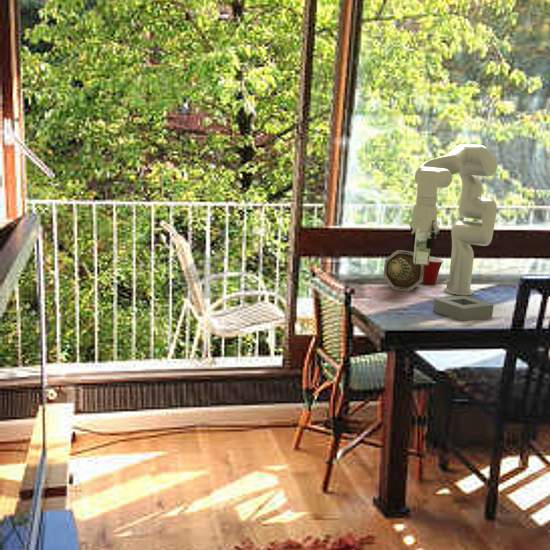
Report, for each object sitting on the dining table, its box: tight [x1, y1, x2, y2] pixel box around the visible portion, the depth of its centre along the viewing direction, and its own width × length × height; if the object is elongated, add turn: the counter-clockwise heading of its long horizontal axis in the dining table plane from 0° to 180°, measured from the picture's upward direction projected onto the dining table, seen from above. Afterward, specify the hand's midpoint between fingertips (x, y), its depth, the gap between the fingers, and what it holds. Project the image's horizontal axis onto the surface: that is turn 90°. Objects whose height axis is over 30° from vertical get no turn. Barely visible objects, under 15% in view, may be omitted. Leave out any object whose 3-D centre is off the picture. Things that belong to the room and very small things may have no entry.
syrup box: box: [413, 228, 432, 265], centre depth 299 cm, size 6×6×14 cm
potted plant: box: [383, 249, 424, 292], centre depth 334 cm, size 18×18×30 cm
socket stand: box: [432, 295, 494, 322], centre depth 300 cm, size 16×16×5 cm
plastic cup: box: [422, 256, 444, 286], centre depth 353 cm, size 11×11×12 cm
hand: (422, 246), depth 299 cm, fingers closed on syrup box, 8 cm apart
